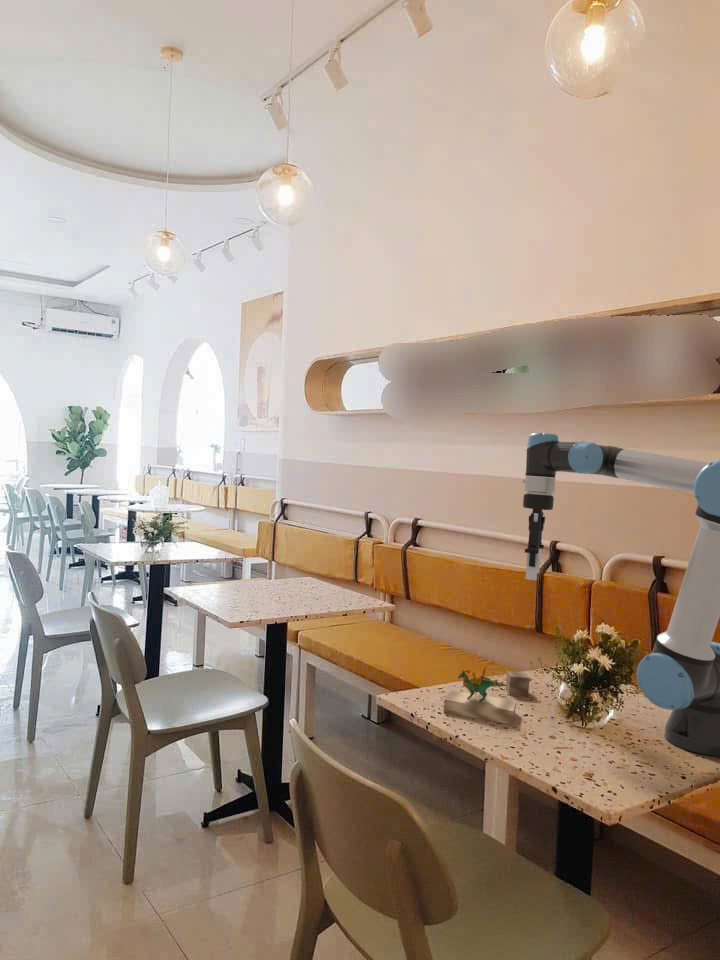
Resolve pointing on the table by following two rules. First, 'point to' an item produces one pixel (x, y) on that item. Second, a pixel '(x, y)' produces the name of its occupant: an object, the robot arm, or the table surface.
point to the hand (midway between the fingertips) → (532, 576)
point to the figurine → (478, 683)
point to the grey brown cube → (517, 683)
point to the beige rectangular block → (480, 707)
